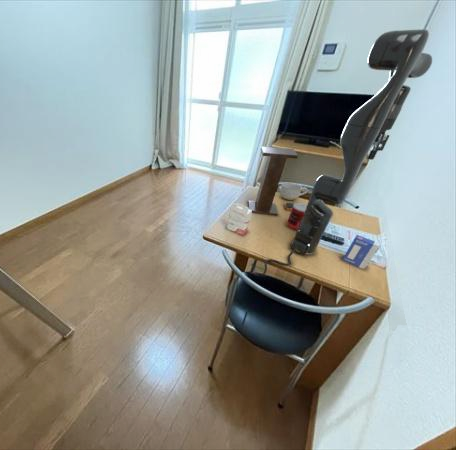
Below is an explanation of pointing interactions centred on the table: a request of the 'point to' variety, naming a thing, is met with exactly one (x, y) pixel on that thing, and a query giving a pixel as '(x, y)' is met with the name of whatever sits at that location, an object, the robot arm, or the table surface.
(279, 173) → the walnut stand
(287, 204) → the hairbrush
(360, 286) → the table surface
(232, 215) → the ink cartridge box
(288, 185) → the teacup
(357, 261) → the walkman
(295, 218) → the canned food
